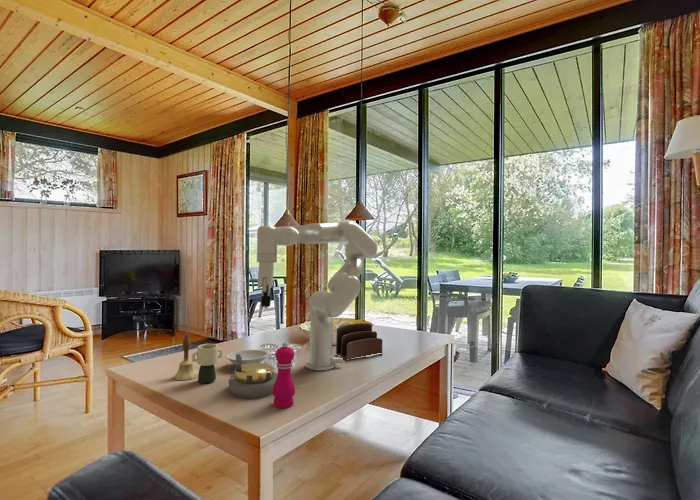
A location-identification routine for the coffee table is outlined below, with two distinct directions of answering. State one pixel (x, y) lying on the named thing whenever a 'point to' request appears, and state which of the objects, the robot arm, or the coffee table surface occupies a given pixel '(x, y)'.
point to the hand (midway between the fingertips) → (265, 306)
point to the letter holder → (357, 341)
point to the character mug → (207, 361)
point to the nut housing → (251, 388)
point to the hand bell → (186, 363)
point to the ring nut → (252, 372)
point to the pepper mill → (284, 378)
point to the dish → (248, 356)
